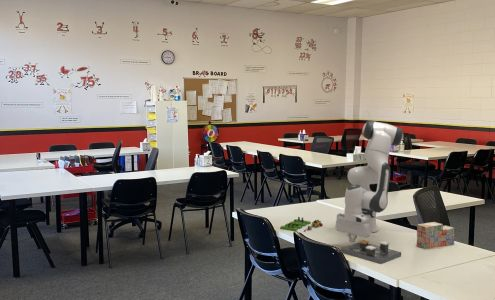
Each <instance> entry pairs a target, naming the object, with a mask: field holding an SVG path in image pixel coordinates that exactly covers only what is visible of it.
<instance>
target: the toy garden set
mask: <svg viewBox="0 0 495 300" xmlns="http://www.w3.org/2000/svg"><path fill="white" fill-rule="evenodd" d="M321 222H322V220H319V219H315V220H313V221H312V222H311V221H310V220H304V217H300V216H297V219H294V220H293V221H289V222H287V223H285V224H284V225H281V226H280V227H279V228H280V230H285V231H291V232H296V231H298V230H300V229H303V228H304V227H306V226H307V227H306V228H305V229H304V230H303V233H305V232H306V231H312V230H313V227H315V228H321V227H323V225H324V224H323V223H321Z"/></svg>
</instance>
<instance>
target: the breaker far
mask: <svg viewBox="0 0 495 300" xmlns="http://www.w3.org/2000/svg"><path fill="white" fill-rule="evenodd" d="M389 245H390V242H388V241H384V240H383V241H380V242H379V247H380V249H382V250H388V249H389Z"/></svg>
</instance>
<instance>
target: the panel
mask: <svg viewBox="0 0 495 300" xmlns="http://www.w3.org/2000/svg"><path fill="white" fill-rule="evenodd" d="M368 246H373V247H376V249H375V254H374V255H369V254H366V249H363V248H360V243H359V242H355V243H354V244H353V243H352V244H351V245H347V246H344V247H341V248H340V252H341V251H342V252H343V254H347V255H350V256H353V257H357V258H359V259H363V260H366V261H370V262H372V263H374V262H375V263H377V264H380V265H381V264H382V265H383V264H385V263H387V262H389V261H391V260H394V259H397V258H401V256H402V251H398V250H395V249H390V248H388V250H382V249H380V245H376V244H375V245H374V244H371V243H368ZM342 252H341V253H342Z"/></svg>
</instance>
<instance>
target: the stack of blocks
mask: <svg viewBox="0 0 495 300" xmlns="http://www.w3.org/2000/svg"><path fill="white" fill-rule="evenodd" d="M416 228H417V229H416V247H418V248H421V249H423V250H428V249H434V248H441V247H446V246H452V245H454V244H455V227H452V226H449V225H443V223H440V222H439V223H438V222H436V221H433V222H432V221H431V222H425V223H419V224H417V227H416Z"/></svg>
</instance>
